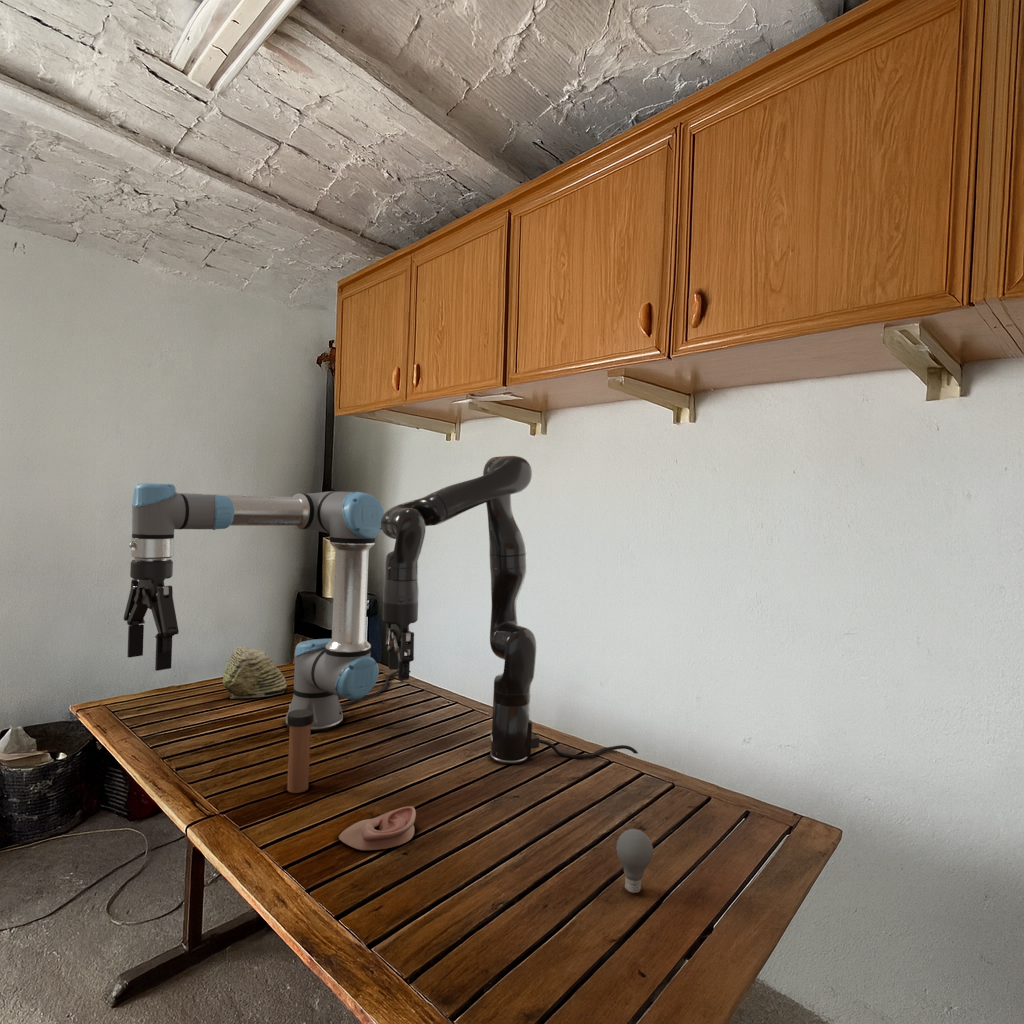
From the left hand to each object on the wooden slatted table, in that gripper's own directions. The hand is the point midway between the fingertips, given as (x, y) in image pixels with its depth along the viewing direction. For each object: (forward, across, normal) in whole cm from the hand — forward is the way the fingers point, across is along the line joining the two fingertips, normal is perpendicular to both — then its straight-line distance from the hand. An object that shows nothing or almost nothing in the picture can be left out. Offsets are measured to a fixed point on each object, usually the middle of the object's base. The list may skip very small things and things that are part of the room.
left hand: (148, 662), depth 129 cm
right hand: (+2, +34, +37) cm, 50 cm away
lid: (+12, +18, +24) cm, 32 cm away
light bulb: (+28, +90, +41) cm, 103 cm away
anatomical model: (+28, +46, +23) cm, 58 cm away
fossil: (+28, -47, +50) cm, 74 cm away
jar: (+28, +18, +24) cm, 41 cm away
